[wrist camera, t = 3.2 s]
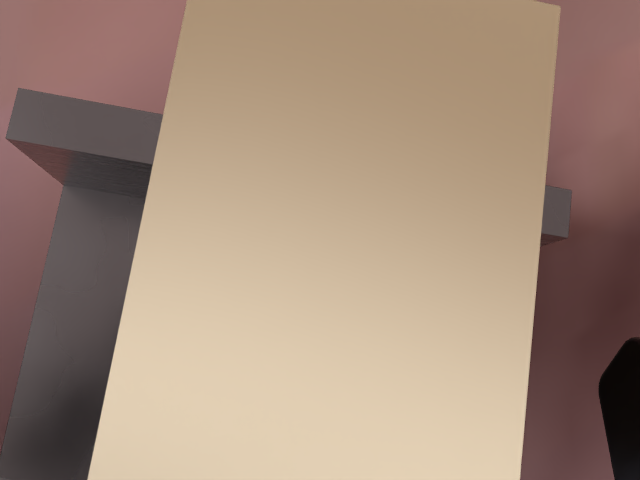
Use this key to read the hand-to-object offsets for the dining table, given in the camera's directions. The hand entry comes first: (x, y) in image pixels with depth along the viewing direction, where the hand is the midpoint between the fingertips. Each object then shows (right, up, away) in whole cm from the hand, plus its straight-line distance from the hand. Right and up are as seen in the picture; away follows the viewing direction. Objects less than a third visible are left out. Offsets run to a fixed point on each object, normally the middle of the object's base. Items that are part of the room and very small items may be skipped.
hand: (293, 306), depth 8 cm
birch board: (-1, -1, +7) cm, 7 cm away
